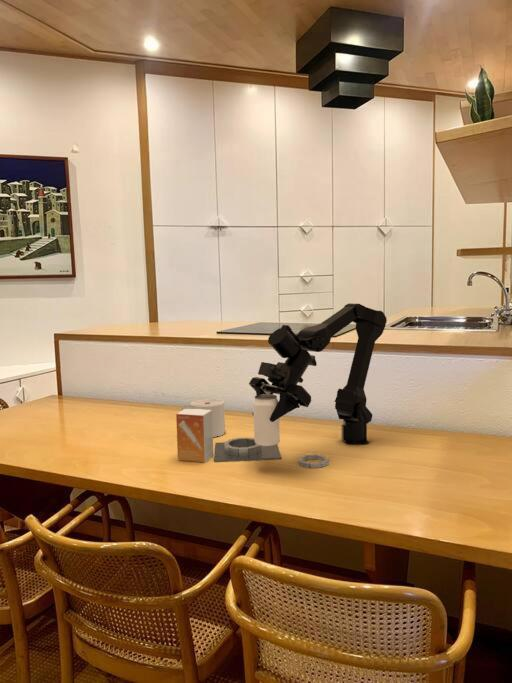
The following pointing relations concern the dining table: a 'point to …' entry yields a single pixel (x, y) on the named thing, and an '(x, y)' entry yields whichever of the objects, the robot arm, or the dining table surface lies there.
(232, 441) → the ring seat
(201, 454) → the small box
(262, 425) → the can
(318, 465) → the ring
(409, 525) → the dining table surface
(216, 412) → the toilet tissue
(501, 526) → the dining table surface
